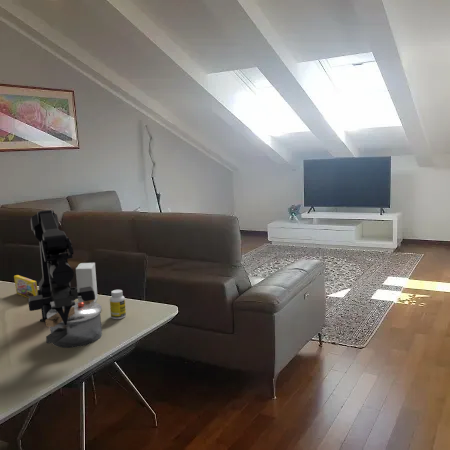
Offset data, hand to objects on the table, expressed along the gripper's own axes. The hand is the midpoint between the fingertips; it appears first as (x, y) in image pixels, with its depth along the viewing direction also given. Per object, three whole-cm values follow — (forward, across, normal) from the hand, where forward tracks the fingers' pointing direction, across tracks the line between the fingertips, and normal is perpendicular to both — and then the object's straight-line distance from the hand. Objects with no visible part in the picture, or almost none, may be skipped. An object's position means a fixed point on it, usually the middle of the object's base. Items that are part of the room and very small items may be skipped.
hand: (65, 324), depth 143 cm
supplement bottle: (+10, +19, +22) cm, 31 cm away
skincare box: (+9, +11, +44) cm, 46 cm away
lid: (+1, +3, +9) cm, 10 cm away
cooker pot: (+9, +2, +9) cm, 13 cm away
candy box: (+9, -12, +64) cm, 66 cm away
